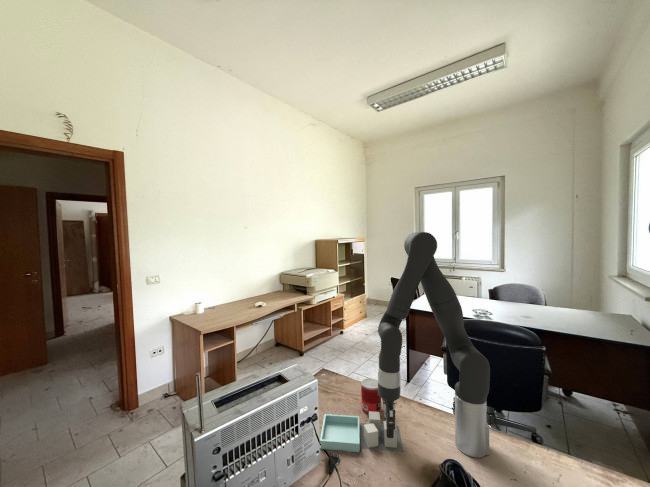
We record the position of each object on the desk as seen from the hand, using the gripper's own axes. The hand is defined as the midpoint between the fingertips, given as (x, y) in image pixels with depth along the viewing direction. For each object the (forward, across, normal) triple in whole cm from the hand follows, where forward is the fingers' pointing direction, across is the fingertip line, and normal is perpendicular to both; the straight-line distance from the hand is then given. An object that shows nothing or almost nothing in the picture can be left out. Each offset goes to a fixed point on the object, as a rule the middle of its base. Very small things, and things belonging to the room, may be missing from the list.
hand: (388, 428), depth 90 cm
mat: (+6, +2, +2) cm, 7 cm away
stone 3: (+5, 0, -1) cm, 5 cm away
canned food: (+6, +18, +5) cm, 19 cm away
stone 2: (+5, 0, +6) cm, 8 cm away
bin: (+6, +1, +16) cm, 17 cm away
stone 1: (+5, +4, +4) cm, 8 cm away
